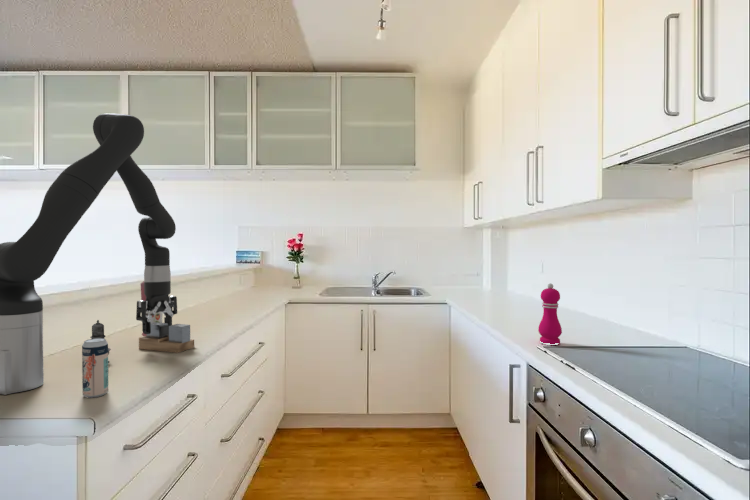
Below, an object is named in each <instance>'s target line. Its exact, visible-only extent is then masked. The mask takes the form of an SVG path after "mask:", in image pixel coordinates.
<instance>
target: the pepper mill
mask: <svg viewBox="0 0 750 500" xmlns="http://www.w3.org/2000/svg"><path fill="white" fill-rule="evenodd" d="M540 292H541V293H540V300H542V302H541V305H542V308H543V309H542V310H543V313H542V318H541V320H540V322H539V325H538V328H537V329H538V330H537V332H538V334H539V335H540V336H541V337H539V342H540V341H541V342H543V343H550V344H555V343H560V344H561V339H560V336H561V335H562V334H563V330H562V325H561V323H560V321H559V317H558V309H559V303H558V302H559V301H560V299H561V293H560V292H559V290H558V289H556V288H554V285H553V284H552V283H548V284H547V287H546V288H544V289H543V290H542V291H540Z"/></svg>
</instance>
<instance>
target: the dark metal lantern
mask: <svg viewBox="0 0 750 500" xmlns="http://www.w3.org/2000/svg"><path fill="white" fill-rule="evenodd" d="M96 338H104V339H105V338H106V335H105V325H104V323H101V322H100V319H97V321H96V322H95V323H94V324H92V326H91V336H90V339H96ZM110 351H111V348H110V347H108V356H109V354H110ZM109 363H110V360H108V364H109Z"/></svg>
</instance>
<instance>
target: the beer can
mask: <svg viewBox="0 0 750 500" xmlns="http://www.w3.org/2000/svg"><path fill="white" fill-rule="evenodd" d="M108 348H109V343H108V341H107V339H106V338H105V337H104V338H96V339H91V338H90V339H86V340H84V341H83V343H82V346H81V363H82V364H81V374H82V376H81V379H82V382H81V383H82V396H83V397H86V398H87V397H88V398H89V399H91V398H92V399H95V398H99V396H100V397H102V396H104V395H106V394H107V393H108V392H109V363H108V361H109V355H108ZM93 397H94V398H93Z"/></svg>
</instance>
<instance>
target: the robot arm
mask: <svg viewBox="0 0 750 500" xmlns="http://www.w3.org/2000/svg"><path fill="white" fill-rule="evenodd" d="M92 131H93V134H94V137H95V139H96V140H97V141H96V142H98V144H99V146H98V147H97V148H96V149H95V150H94V151H92V152H90V153H88V154H87V155H85V156H83V157H82V158H80V159H78V160H76V161H74V162H73V163H71V164H70V165H69V166H67V167H66V168H65V169H63V170H62V171H61V172H60V173H59V175H58V176H57V178H56V179H55V180H54V181H53V183H51V185H50V186H49V187H48V189H47V191H46V192H45V195H44V198H43V201H42V204H41V207H40V211H39V214H38V216H37V218H36V219H35V221H34V222H33V223H32V225H31V226H30V227H29V228H28V229H27V230H26V232H25V233H24V234H23V235H22V236H21V237H20V238H18V240H17V241H7V242H1V243H0V395H5V396H6V395H10V394H14V393H19V392H20V393H22V392H25V391H29V390H33V389H37V388H38V387H41V386H42V385H44V382H45V381H44V379H45V378H44V375H45V373H44V324H43V323H44V319H43V318H44V317H43V316H44V312H43V311H44V310H43V309H44V306H43V299H42V298H41V296H39V294H38V293H37V291H36V288H35V281H36V280H38V279H40V278H41V277H43V275H45V273H46V272H47V271H48V269H49V267H50V266H51V264H52V262H53V261H54V259H55V257H56V255H57V253H58V252H59V250H60V248H61V246H62V245H63V243H64V242H65V240H66V239H67V237H68V236H69V235H70V233H71V231H72V230H73V229H74V228H75V227H76V225H77V224H78V223H79V221H80V220H81V219H82V218H83V216H84V214H85V213H86V212H87V211H88V210H89V208H90V207H91V206H92V204H93V203H94V202H95V200H96V199H97V198H98V196H100V193H101V192H102V190H103V189H104V188H105V186H106V185H107V183H108V182H109V181H110V180H111V179H112V177H113V176H114V175H115V173H116V172H117V174H118V176H119V177H120V178H121V180H122V182H123V184H124V185H125V188H126V190H127V191H128V194H129V196H130V199H131V201H132V203H133V206H134V208H135V210H136V212H137V213H138V214H140V215H142V216H144V217H143V218H141V219H140V221H139V223H138V229H137V231H138V235H139V238H140V240H141V244H142V248H143V251H144V270H143V281H144V295H146V300H145V301H141V300H137V301H136V313H135V314H136V316H135V319H136V321H138V322H139V321H140V322H142V323H141V326H142V327H141V331H142V333H144V334H150V333H151V322H150V320H151V318H152V316H154V315H155V313H158V312H162V313H163V316H165V317H163V319H164V322H163V323H168V327H169V326H170V325H173V317H174V316H175V315H177V314H178V298H177V295H170V294H171V289H172V288H171V287H172V286H171V285H172V284H171V283H172V282H171V266H170V264H171V263H170V259H171V257H170V250H169V247H166V246H162V245H159V244H158V241H157V240H162V239H163V240H168V239H171V238H172V237H174V235H175V233H176V230H177V229H176V223H175V220H174V219H173V217H172V216H171V214H170V213H169V212H168V211H167V209H166V208H165V207H164V205H163V204H162V203H161V200H160V199H159V196H158V193H157V191H156V188H155V186H154V184H153V182H152V181H151V179H150V178H149V177H148V175H147V174H146V173H145V172H144V171H143V170H142V169H141V168H140V166H139V165H138V164H137V163H136V162H135V161H134V159H133V157H132V156H131V155H132V154H133V153H134V152H135V151H136V150H137V149H138V148H139V146H140V145H141V144H142V142H143V139H144V137H145V127H144V124H143V122H142V120H140V119H139V118H137V117H136V116H133V115H131V114H126V113H111V112H110V113H109V112H108V113H107V112H106V113H105V112H104V113H100V114H98V115H97V116H96V118H94V121H93V123H92ZM149 310H150V312H149ZM147 316H148V317H147Z"/></svg>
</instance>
